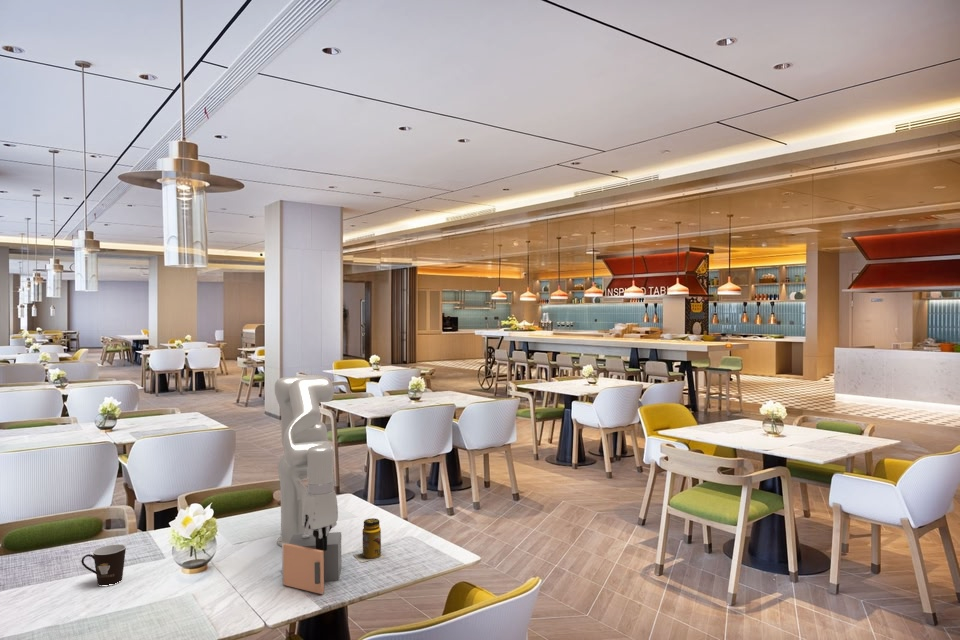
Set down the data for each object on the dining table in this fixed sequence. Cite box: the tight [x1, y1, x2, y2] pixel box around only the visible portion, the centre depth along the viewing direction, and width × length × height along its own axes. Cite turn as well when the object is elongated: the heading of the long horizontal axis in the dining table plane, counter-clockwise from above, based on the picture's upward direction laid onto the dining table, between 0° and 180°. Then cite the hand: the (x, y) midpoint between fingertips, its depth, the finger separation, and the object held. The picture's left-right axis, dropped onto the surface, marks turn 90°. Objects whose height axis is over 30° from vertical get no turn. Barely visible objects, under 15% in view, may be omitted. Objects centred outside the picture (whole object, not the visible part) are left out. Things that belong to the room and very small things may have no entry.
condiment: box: [353, 517, 386, 563], centre depth 207 cm, size 7×8×12 cm
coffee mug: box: [81, 544, 127, 585], centre depth 189 cm, size 12×9×10 cm
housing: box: [289, 531, 343, 582], centre depth 192 cm, size 11×15×12 cm
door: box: [281, 543, 325, 595], centre depth 181 cm, size 2×15×12 cm, turn 63°
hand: (321, 550), depth 183 cm, fingers closed
